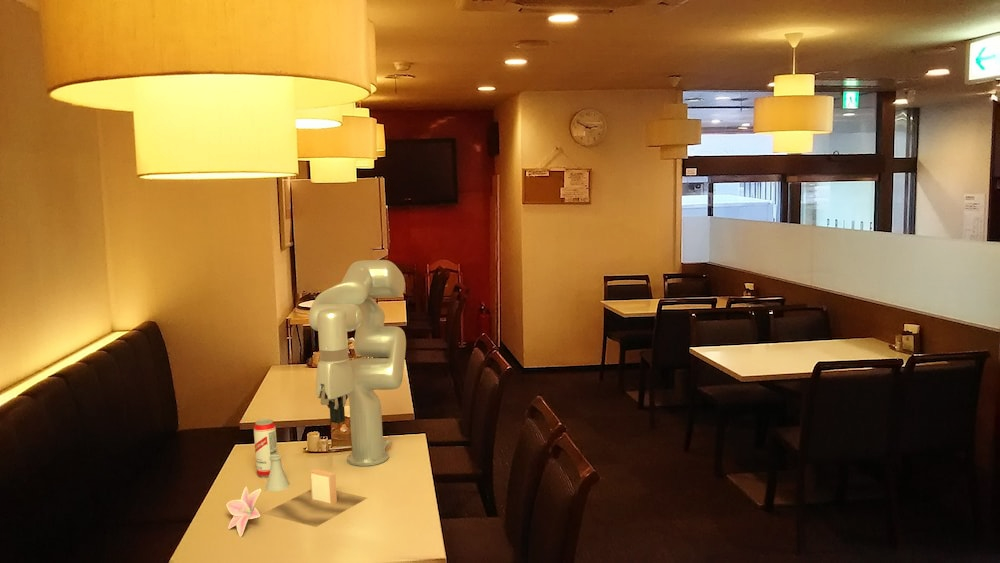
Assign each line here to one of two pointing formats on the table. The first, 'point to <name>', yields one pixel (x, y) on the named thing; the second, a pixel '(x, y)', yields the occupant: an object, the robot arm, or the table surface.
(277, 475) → the flask
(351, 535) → the table surface
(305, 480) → the table surface
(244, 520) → the lily
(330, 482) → the tile
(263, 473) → the beer can
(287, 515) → the board
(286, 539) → the table surface
